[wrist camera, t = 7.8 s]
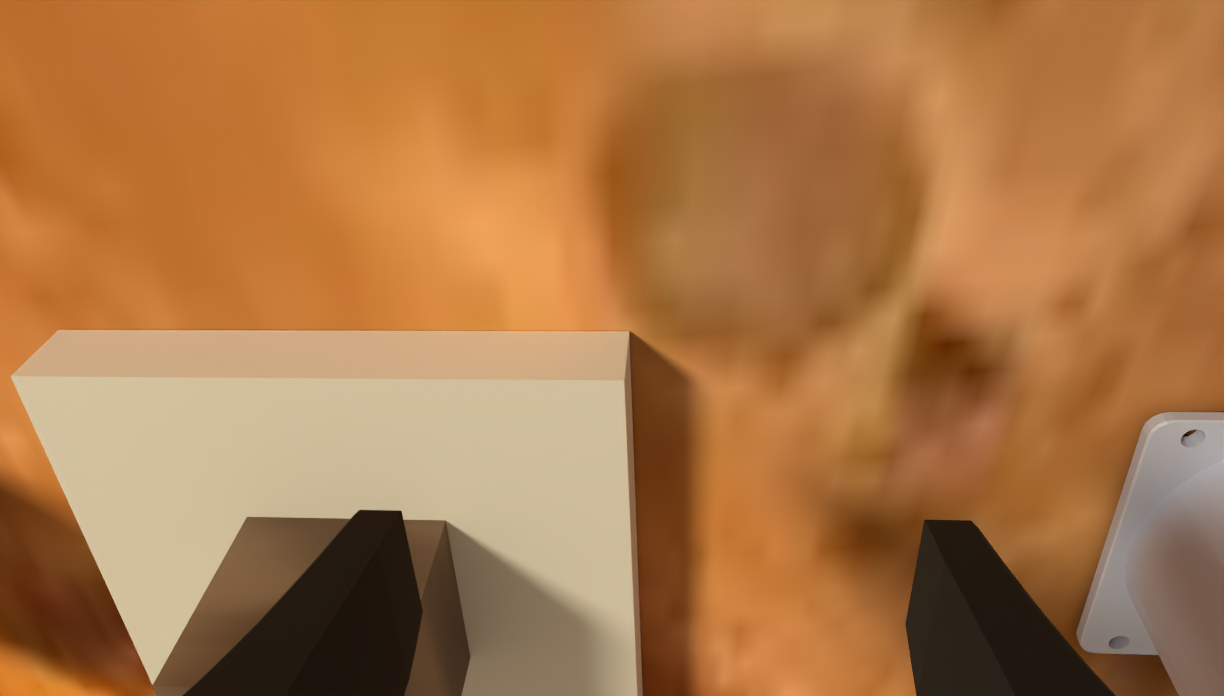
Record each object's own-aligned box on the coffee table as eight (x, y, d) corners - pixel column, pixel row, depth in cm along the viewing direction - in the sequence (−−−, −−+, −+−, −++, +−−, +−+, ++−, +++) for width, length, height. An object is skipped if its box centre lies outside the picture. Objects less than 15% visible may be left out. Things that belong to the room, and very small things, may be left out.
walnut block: (445, 520, 23) (391, 693, 19) (470, 657, 26) (428, 835, 22) (246, 516, 24) (151, 685, 20) (291, 651, 27) (216, 825, 22)
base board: (629, 331, 23) (624, 380, 21) (643, 712, 30) (640, 770, 28) (58, 330, 24) (10, 376, 22) (210, 697, 31) (183, 752, 30)
